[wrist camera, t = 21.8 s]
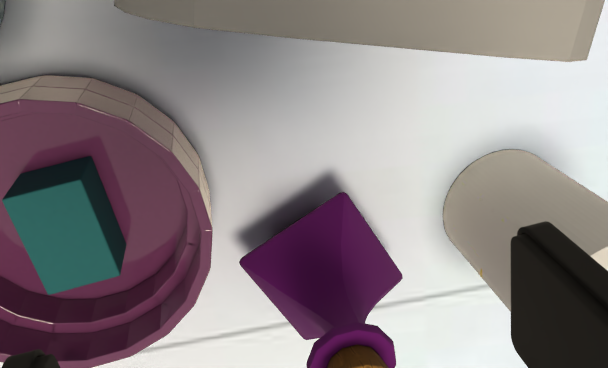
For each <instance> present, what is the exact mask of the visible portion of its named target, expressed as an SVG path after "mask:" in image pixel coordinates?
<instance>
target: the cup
mask: <svg viewBox="0 0 608 368" xmlns="http://www.w3.org/2000/svg"><path fill="white" fill-rule="evenodd" d="M544 221H547V222H550V223H552V224H553V225H554V226H555V227H556V228H558V229H559V230H560V231H561V232H562V233H564V234H565V235H566V236H567V237H568V238H569V239H571V240H572V241H573V242H574V243H575V244H577V245H578V246H579V247H580V248H581V249H582V250H584V251H585V252H586V253H587V254H588V255H590V256H591V257H592V258H593V259H594V260H595V261H597V262H598V263H599V264H600V265H601V266H603V267H604V268H605V269H606V270H607V271H608V202H607V201H605V200H604V199H602V198H601V197H599V196H598V195H596V194H595V193H593V192H591V191H590V190H588V189H587V188H585V187H584V186H582V185H581V184H579V183H577V182H576V181H574V180H573V179H571V178H570V177H568V176H567V175H565V174H564V173H562V172H560V171H559V170H557V169H556V168H554V167H553V166H551V165H550V164H548V163H546V162H545V161H543V160H542V159H540V158H539V157H537V156H535V155H534V154H532V153H529V152H526V151H522V150H513V149H510V150H501V151H497V152H493V153H490V154H488V155H486V156H483V157H481V158H480V159H478V160H476V161H475V162H473V163H472V164H471V165H469V166H468V167H467V168H466V169H465V170H464V171H463V172H462V173H461V174H460V175H459V176H458V178H457V179H456V180H455V182H454V183H453V185H452V186H451V188H450V190H449V192H448V194H447V197H446V200H445V204H444V209H443V222H444V227H445V231H446V233H447V235H448V237H449V239H450V240H451V242H452V243H453V244H454V245H455V246H456V248H457V249H458V250H459V251H460V252H461V254H462V255H463V256H464V257H465V258H466V259H467V261H468V262H469V263H470V264H471V265H472V267H473V268H474V269H475V270H476V271H477V272H478V274H479V275H480V276H481V277H482V278H483V280H484V281H485V282H486V283H487V284H488V285H489V287H490V288H491V289H492V290H493V291H494V293H495V294H496V295H497V296H498V297H499V298H500V300H501V301H502V302H503V303H504V304H505V306H506V307H507V308H508V309H509V310H510V311H511V239H512V237H514V236H517V232H518V230H519V228H521V227H525V226H529V225H533V224H536V223H540V222H544Z"/></svg>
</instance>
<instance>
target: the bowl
mask: <svg viewBox="0 0 608 368" xmlns="http://www.w3.org/2000/svg"><path fill="white" fill-rule="evenodd" d="M88 156H91V157H92V159H93V162H94V164H95V167H96V169H97V172H98V174H99V177H100V179H101V182H102V184H103V187H104V189H105V192H106V194H107V197H108V199H109V202H110V204H111V207H112V209H113V212H114V214H115V217H116V219H117V222H118V224H119V227H120V229H121V232H122V234H123V237H124V239H125V242H126V250H125V254H124V259H123V264H122V269H121V274H120V276H117V277H114V278H110V279H106V280H103V281H99V282H95V283H92V284H88V285H84V286H81V287H77V288H73V289H70V290H66V291H62V292H59V293H55V294H51V295H48V294H47V292H46V290H45V287H44V285H43V283H42V281H41V279H40V277H39V275H38V273H37V271H36V269H35V267H34V265H33V263H32V261H31V259H30V257H29V255H28V253H27V251H26V249H25V247H24V245H23V243H22V241H21V239H20V237H19V235H18V233H17V230H16V228H15V226H14V224H13V222H12V220H11V218H10V216H9V214H8V212H7V210H6V208H5V206H4V204H3V202H2V199H3V197H4V196H5V195H6V193H7V192H8V190H9V189H10V188H11V186H12V185H13V183H14V182H15V180H16V179H17V178H18V176H19V175H20V174H21V173H25V172H29V171H33V170H37V169H41V168H45V167H49V166H53V165H56V164H60V163H64V162H68V161H72V160H76V159H80V158H84V157H88ZM212 231H213V230H212V217H211V203H210V192H209V188H208V184H207V181H206V178H205V175H204V171H203V168H202V165H201V162H200V158H199V156H198V154H197V152H196V151H195V150H194V148H193V147H192V145H191V144H190V143H189V141H188V140H187V139H186V137H185V136H184V134H183V133H182V132H181V130H180V129H179V128H178V126H177V125H176V123H175V122H173V120H171V119H170V118H169V117H167V116H166V115H165V114H163V113H162V112H161V111H159V110H158V109H157V108H155V107H154V106H153V105H151V104H150V103H149V102H147V101H146V100H144V99H143V98H142V97H140V96H139V95H137V94H135V93H132V92H130V91H127V90H124V89H121V88H119V87H116V86H113V85H110V84H108V83H105V82H102V81H99V80H97V79H92V78H84V77H68V76H53V75H42V76H37V77H33V78H29V79H25V80H21V81H17V82H13V83H8V84H4V85H0V362H3V363H4V362H5V360H6V358H8V357H9V356H13V355H17V354H21V353H25V352H29V351H33V350H37V349H39V350H42V351H43V352H44V353H45V355H48V354H53V355H54V356H55V358H56V359H57V361H58V364H59V366H60V368H92V367H96V366H99V365H103V364H106V363H110V362H113V361H117V360H120V359H124V358H127V357H130V356H133V355H134V354H136V353H138V352H139V351H141V350H143V349H144V348H146V347H148V346H149V345H151V344H153V343H154V342H156V341H158V340H160V339H161V338H163V337H165V336H166V335H167V334H169V333H170V332H171V330H172V329H173V328H174V327H175V326H176V325H177V324H178V323H179V322H180V321H181V320H182V318H183V317H184V316H185V315H186V314H187V313H188V312H189V311H190V310H191V309H192V307H193V306H194V305H195V303H196V301H197V299H198V296H199V294H200V292H201V289H202V287H203V285H204V283H205V280H206V278H207V276H208V273H209V271H210V268H211V250H212Z"/></svg>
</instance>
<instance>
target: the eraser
mask: <svg viewBox="0 0 608 368" xmlns="http://www.w3.org/2000/svg"><path fill="white" fill-rule="evenodd" d="M2 202H3V204H4V206H5V208H6V210H7V212H8V214H9V216H10V218H11V220H12V222H13V224H14V226H15V228H16V230H17V233H18V235H19V237H20V239H21V241H22V243H23V245H24V247H25V249H26V251H27V253H28V255H29V257H30V259H31V261H32V263H33V265H34V267H35V269H36V271H37V273H38V275H39V277H40V279H41V281H42V283H43V285H44V287H45V290H46V292H47V294H48V295H51V294H55V293H59V292H62V291H66V290H70V289H73V288H77V287H81V286H84V285H88V284H92V283H95V282H99V281H103V280H106V279H110V278H114V277H117V276H120V274H121V269H122V264H123V259H124V254H125V250H126V242H125V239H124V237H123V234H122V232H121V229H120V227H119V224H118V222H117V219H116V217H115V214H114V212H113V209H112V207H111V204H110V202H109V199H108V197H107V194H106V192H105V189H104V187H103V184H102V182H101V179H100V177H99V174H98V172H97V169H96V167H95V164H94V162H93V159H92V157H91V156H88V157H84V158H80V159H76V160H72V161H68V162H64V163H60V164H56V165H53V166H49V167H45V168H41V169H37V170H33V171H29V172H25V173H21V174H20V175H19V176H18V178H17V179H16V180H15V182H14V183H13V185H12V186H11V188H10V189H9V190H8V192H7V193H6V195H5V196H4V197H3V199H2Z"/></svg>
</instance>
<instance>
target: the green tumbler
mask: <svg viewBox="0 0 608 368" xmlns="http://www.w3.org/2000/svg"><path fill="white" fill-rule="evenodd" d="M4 8H5V0H0V26H1V22H2V18H3V14H4Z"/></svg>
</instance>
